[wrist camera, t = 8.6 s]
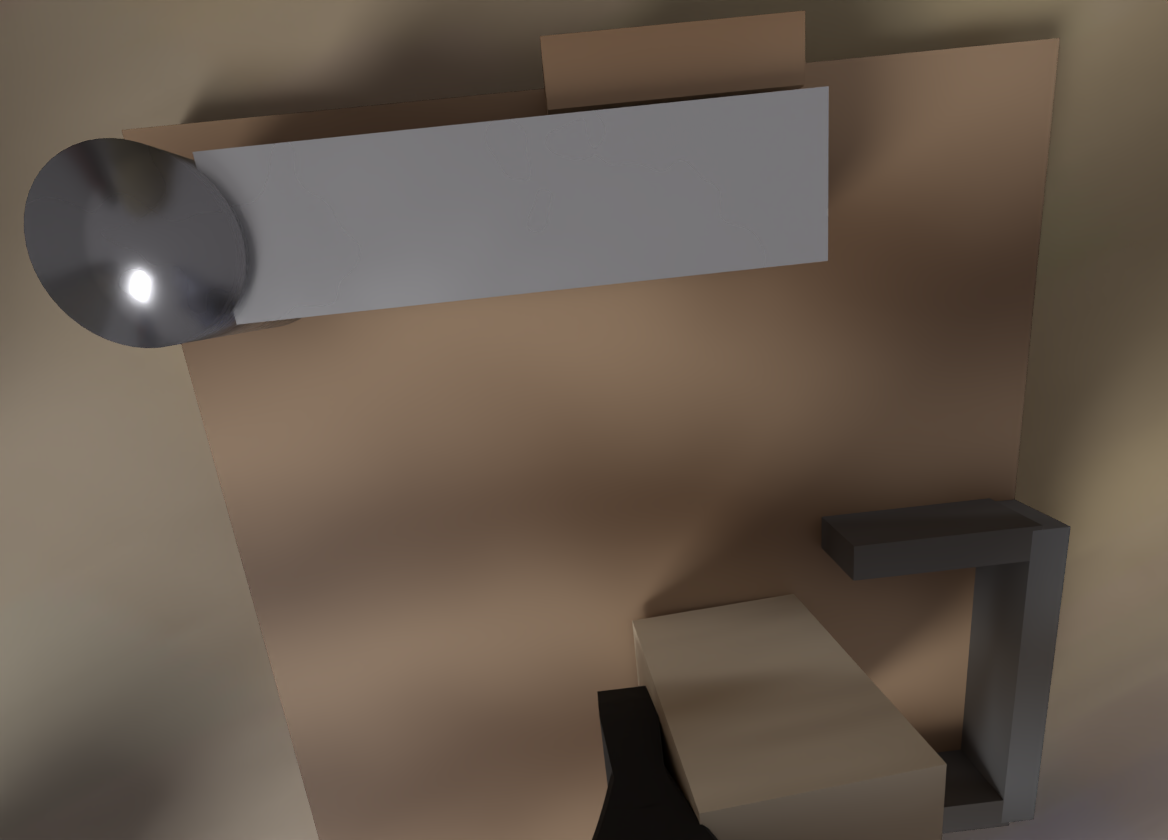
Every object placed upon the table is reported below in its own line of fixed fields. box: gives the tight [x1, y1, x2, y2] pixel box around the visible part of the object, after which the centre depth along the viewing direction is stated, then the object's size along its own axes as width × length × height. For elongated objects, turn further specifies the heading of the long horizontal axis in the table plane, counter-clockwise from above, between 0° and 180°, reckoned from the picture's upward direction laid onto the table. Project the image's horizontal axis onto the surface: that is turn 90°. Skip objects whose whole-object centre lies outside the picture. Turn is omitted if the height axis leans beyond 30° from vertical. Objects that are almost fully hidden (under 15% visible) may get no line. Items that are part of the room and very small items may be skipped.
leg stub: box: [632, 594, 947, 840], centre depth 12 cm, size 4×4×5 cm
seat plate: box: [122, 11, 1070, 840], centre depth 13 cm, size 19×18×4 cm
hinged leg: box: [24, 86, 829, 348], centre depth 10 cm, size 11×3×3 cm, turn 96°
